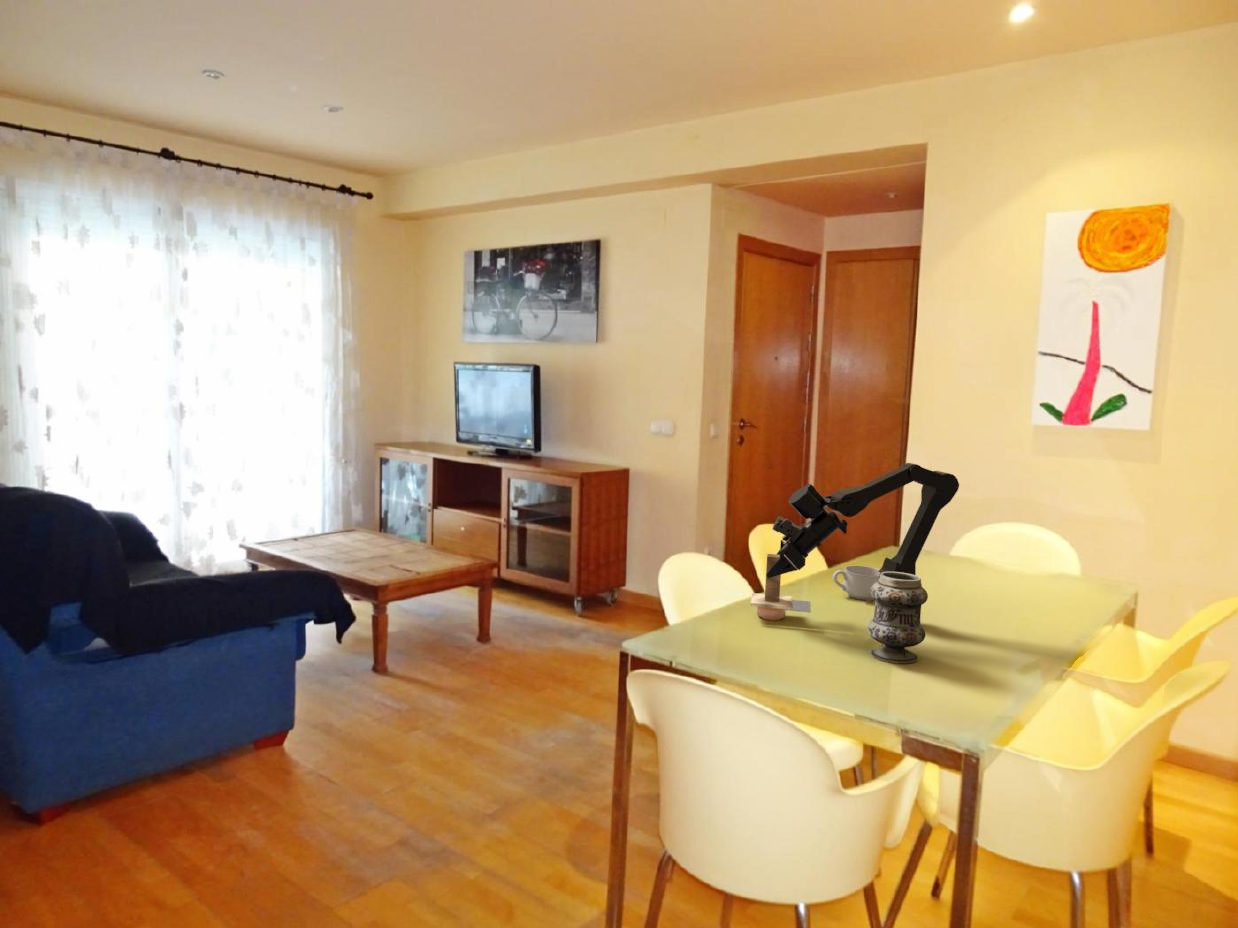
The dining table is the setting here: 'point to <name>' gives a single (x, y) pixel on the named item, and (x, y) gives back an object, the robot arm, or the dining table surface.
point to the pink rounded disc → (771, 613)
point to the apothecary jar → (897, 616)
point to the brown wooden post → (772, 590)
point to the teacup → (858, 581)
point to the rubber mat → (801, 606)
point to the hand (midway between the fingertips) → (767, 572)
